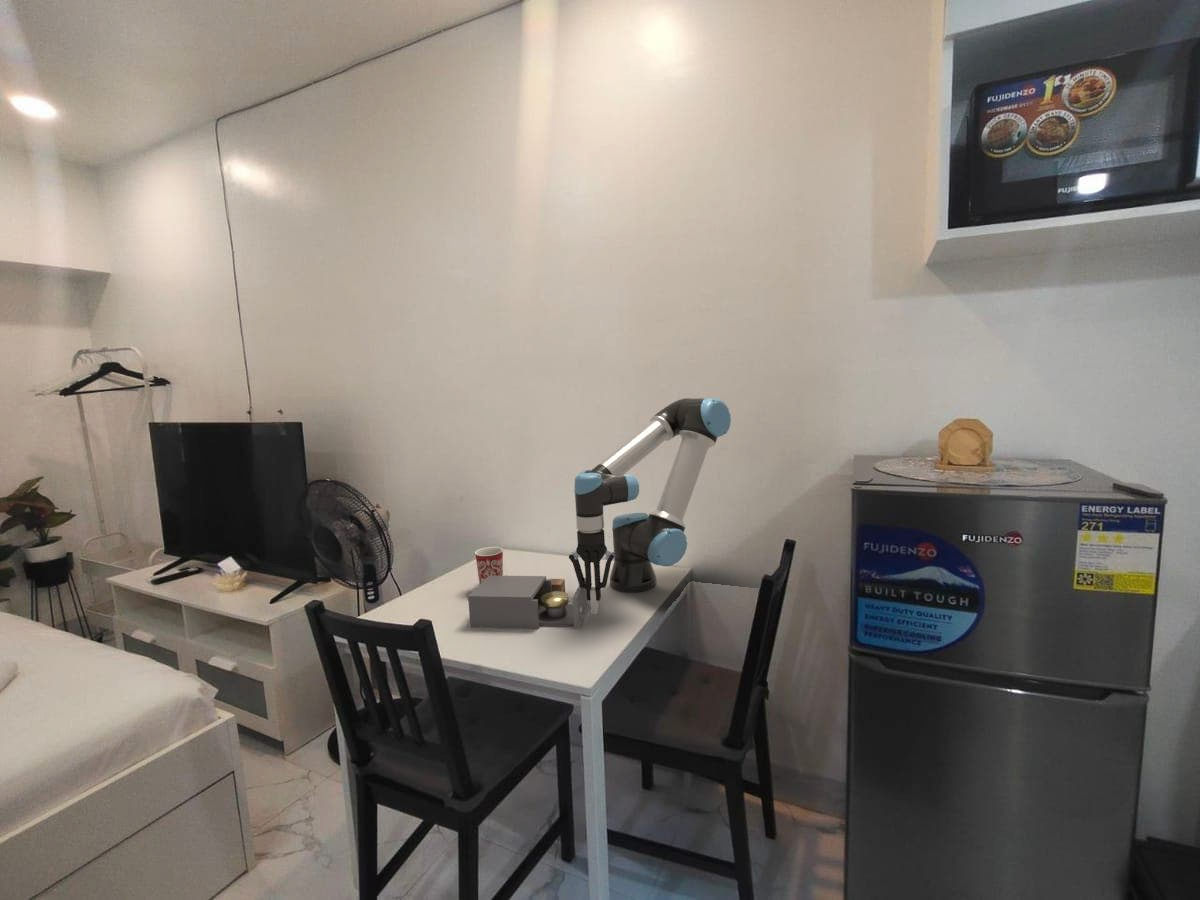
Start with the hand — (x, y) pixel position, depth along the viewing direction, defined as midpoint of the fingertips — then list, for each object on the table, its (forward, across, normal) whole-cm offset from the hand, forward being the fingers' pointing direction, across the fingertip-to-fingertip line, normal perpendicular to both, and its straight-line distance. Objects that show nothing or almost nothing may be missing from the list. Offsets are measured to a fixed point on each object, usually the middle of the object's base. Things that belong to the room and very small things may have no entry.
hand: (594, 610), depth 150 cm
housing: (+2, +25, 0) cm, 25 cm away
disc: (-2, +11, 0) cm, 12 cm away
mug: (+2, +38, -20) cm, 43 cm away
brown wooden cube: (+2, +15, -14) cm, 20 cm away
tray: (+2, +13, 0) cm, 13 cm away
